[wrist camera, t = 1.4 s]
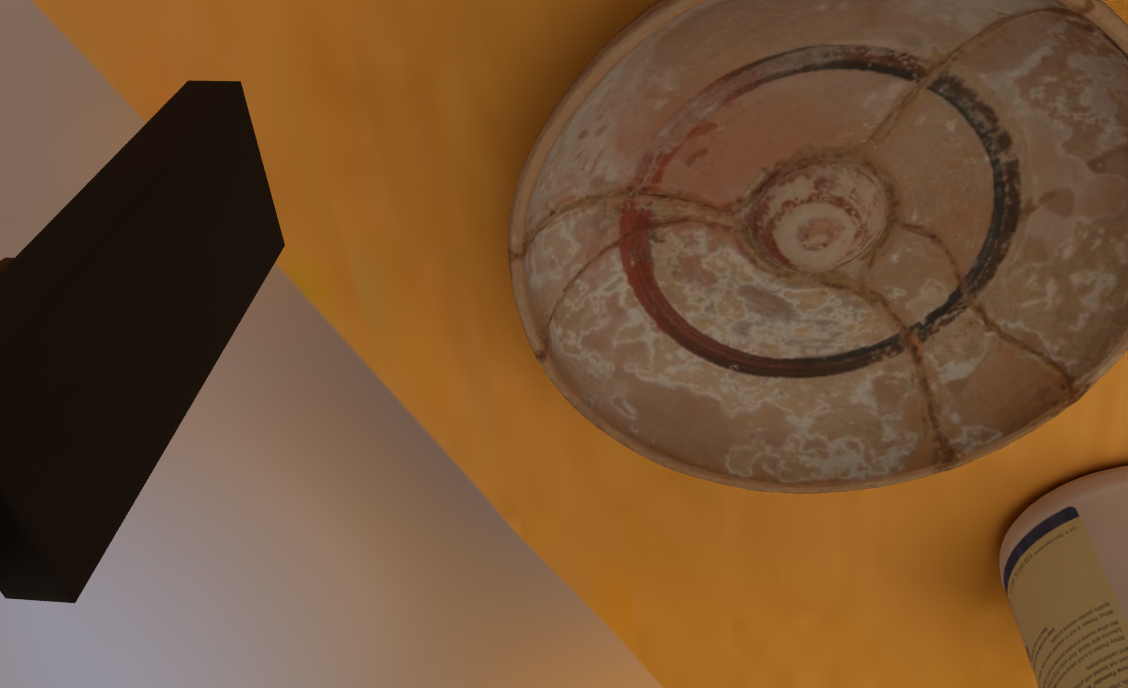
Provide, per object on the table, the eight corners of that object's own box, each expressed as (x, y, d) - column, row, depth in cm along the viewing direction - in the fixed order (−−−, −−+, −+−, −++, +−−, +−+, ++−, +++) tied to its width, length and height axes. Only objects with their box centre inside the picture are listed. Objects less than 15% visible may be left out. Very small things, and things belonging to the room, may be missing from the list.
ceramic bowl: (738, 485, 46) (745, 565, 43) (406, 169, 36) (375, 236, 32) (1229, 257, 35) (1297, 336, 32) (951, -290, 25) (1003, -270, 21)
